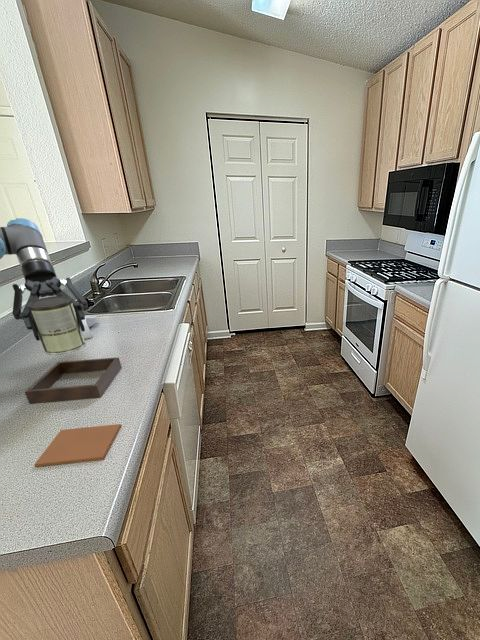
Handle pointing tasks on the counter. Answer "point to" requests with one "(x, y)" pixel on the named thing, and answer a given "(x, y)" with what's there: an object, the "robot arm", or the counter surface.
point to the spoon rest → (88, 325)
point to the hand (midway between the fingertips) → (61, 333)
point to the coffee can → (57, 324)
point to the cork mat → (79, 445)
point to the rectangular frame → (44, 393)
